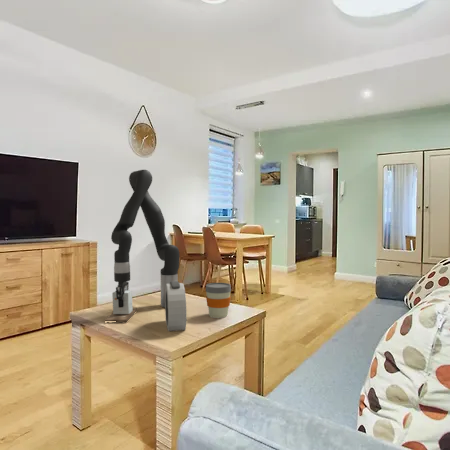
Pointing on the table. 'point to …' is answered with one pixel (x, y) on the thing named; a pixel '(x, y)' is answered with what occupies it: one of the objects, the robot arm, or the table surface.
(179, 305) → the alarm clock
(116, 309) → the small box
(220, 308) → the reusable coffee cup
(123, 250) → the robot arm
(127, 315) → the walnut board
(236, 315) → the table surface
